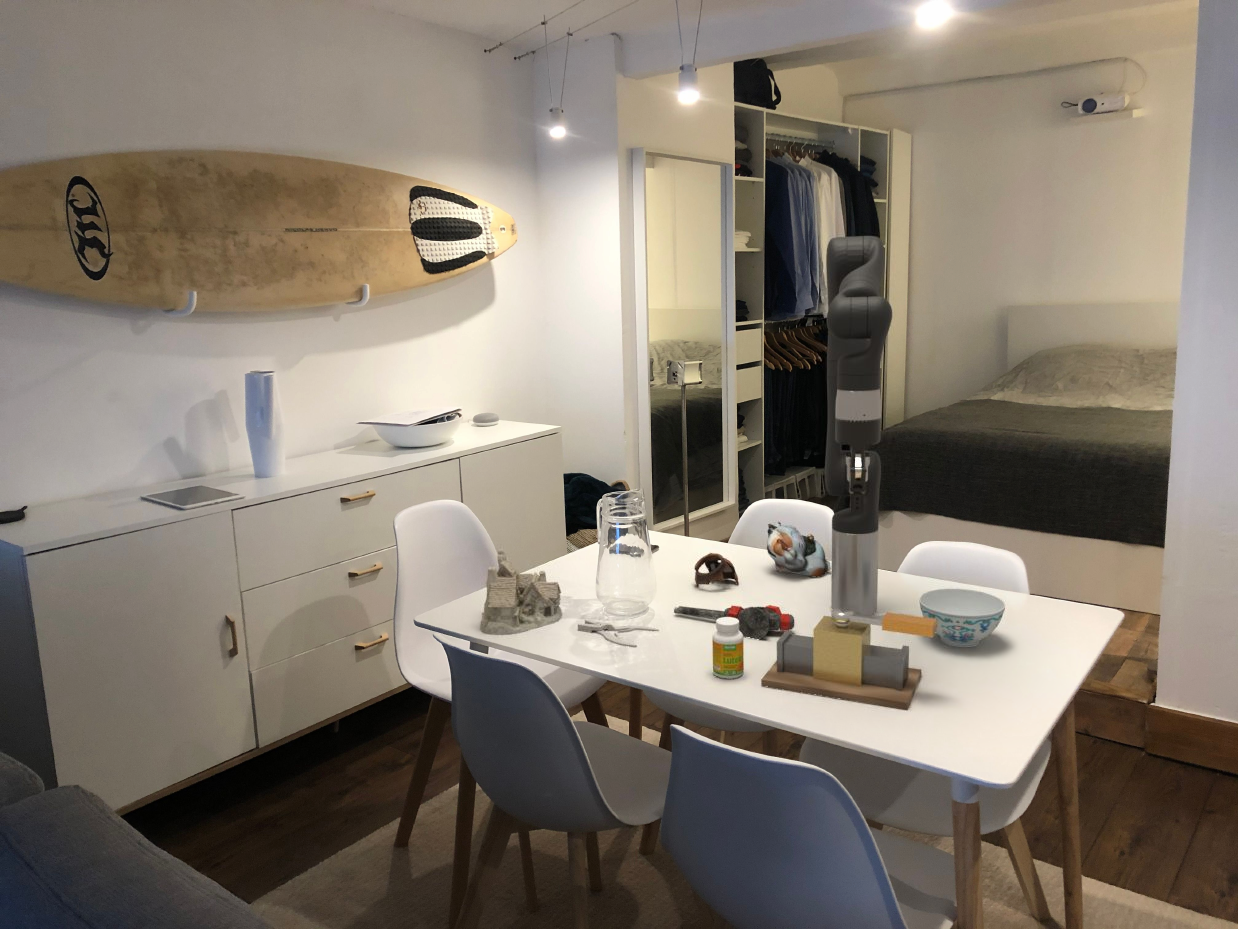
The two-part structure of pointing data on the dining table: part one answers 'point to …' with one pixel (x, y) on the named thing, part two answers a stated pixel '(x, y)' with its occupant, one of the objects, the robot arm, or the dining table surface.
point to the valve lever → (889, 621)
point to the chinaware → (962, 614)
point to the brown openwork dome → (714, 569)
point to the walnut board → (845, 688)
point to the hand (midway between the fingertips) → (856, 513)
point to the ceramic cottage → (518, 600)
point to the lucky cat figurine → (795, 551)
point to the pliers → (601, 628)
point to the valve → (747, 618)
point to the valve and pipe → (843, 656)
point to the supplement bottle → (728, 649)
